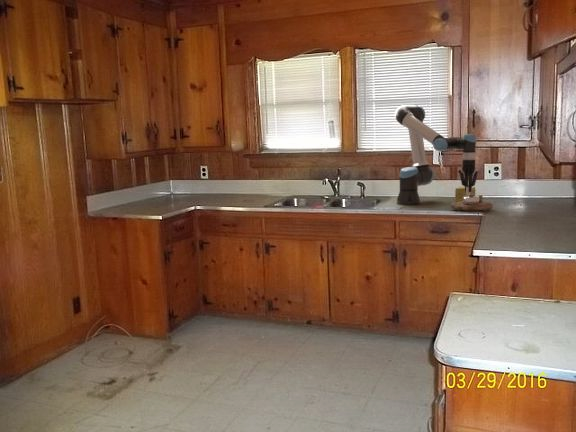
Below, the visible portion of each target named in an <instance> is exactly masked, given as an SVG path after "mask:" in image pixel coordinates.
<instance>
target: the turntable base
mask: <svg viewBox="0 0 576 432" xmlns="http://www.w3.org/2000/svg"><path fill="white" fill-rule="evenodd" d="M460 210H461V209H458V211H460ZM484 211H485V210H461V211H460V212H465V213H479V212H481V213H482V212H484Z"/></svg>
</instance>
